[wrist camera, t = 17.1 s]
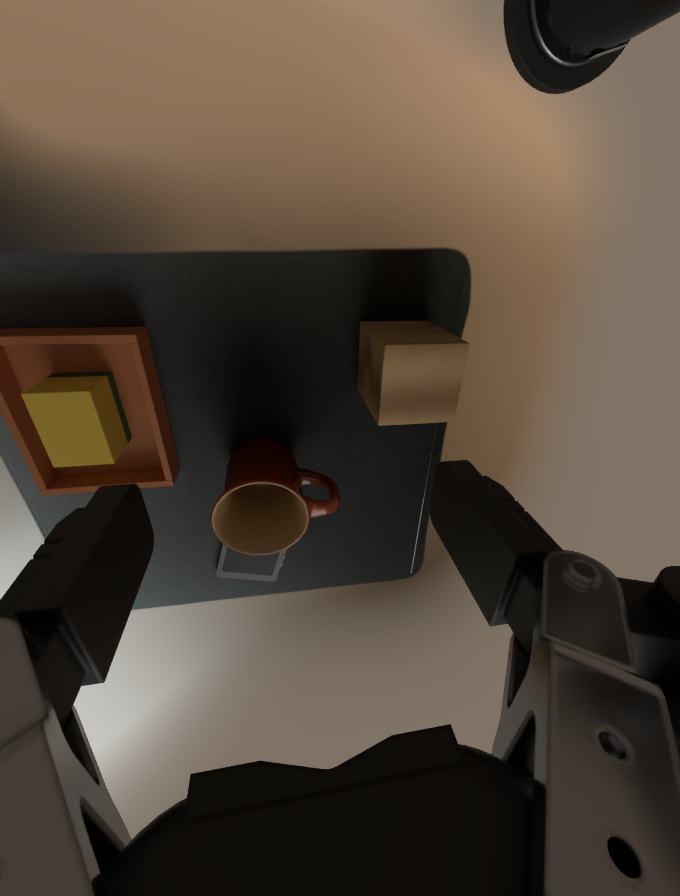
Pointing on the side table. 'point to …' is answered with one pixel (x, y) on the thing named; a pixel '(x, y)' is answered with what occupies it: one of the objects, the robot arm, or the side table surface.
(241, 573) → the smartphone
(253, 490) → the mug
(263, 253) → the side table surface
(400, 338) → the tall wooden block
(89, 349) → the tray
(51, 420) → the sponge
